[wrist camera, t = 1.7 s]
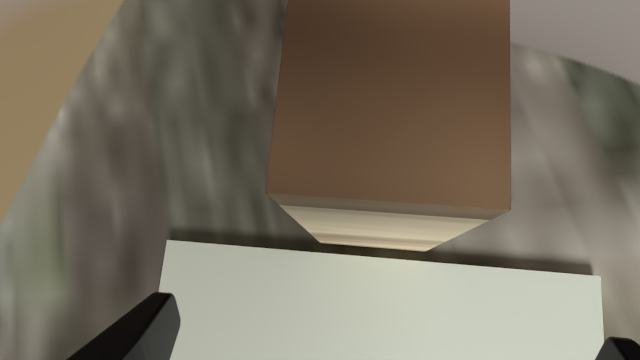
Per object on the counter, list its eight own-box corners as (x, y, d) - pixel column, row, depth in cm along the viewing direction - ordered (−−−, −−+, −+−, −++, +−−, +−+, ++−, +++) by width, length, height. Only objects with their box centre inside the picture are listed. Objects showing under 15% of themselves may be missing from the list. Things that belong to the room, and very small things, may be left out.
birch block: (425, 251, 21) (510, 209, 9) (320, 243, 21) (265, 192, 9) (429, 131, 22) (509, -50, 10) (330, 126, 23) (293, -51, 11)
